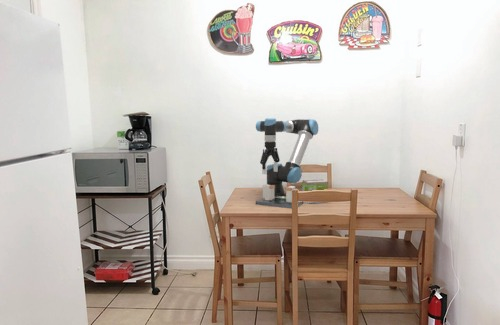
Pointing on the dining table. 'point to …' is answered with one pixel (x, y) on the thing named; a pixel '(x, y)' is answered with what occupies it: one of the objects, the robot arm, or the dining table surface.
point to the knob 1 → (268, 192)
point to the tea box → (314, 186)
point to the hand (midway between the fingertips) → (270, 172)
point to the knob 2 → (289, 193)
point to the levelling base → (276, 202)
